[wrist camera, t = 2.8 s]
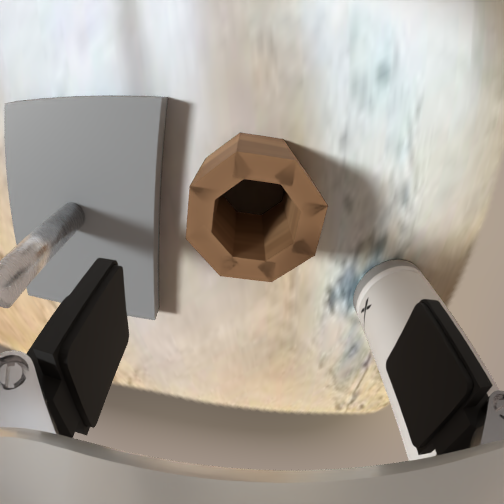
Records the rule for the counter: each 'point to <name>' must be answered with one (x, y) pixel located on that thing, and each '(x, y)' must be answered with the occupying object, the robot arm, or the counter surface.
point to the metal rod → (37, 251)
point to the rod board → (90, 187)
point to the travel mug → (396, 322)
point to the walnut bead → (253, 225)
